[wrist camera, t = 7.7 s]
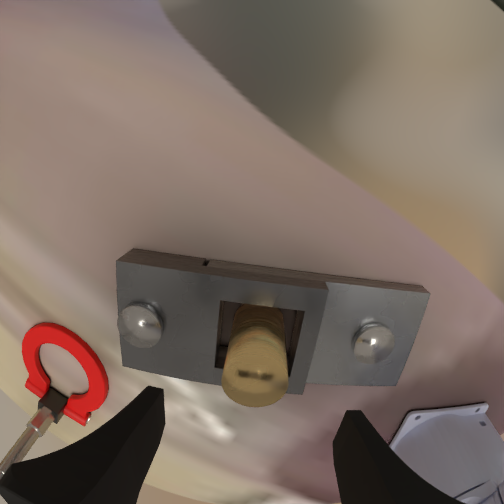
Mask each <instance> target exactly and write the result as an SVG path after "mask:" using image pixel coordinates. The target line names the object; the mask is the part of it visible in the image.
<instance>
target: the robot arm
mask: <svg viewBox="0 0 504 504" xmlns="http://www.w3.org/2000/svg"><path fill="white" fill-rule="evenodd" d="M488 407H489V405H488V404H487V403H482V404H475V405H468V406H460V407H452V408H443V409H433V410H420V411H411V412H410V413H408V414H407V416H406V418H405V419H404V421H403V423H402V425H401V427H400V428H399V430H398V432H397V434H396V435H395V437H394V439H393V440H392V442H391V444H390V445H388V444H387V443H386V442H385V441H384V439H383V438H382V437H381V436H380V435H379V433H378V432H377V431H376V429H375V428H374V427H373V426H372V424H371V423H370V422H369V420H368V419H367V418H366V416H365V415H364V414H363V413H362V411H361V410H347V411H346V413H345V415H344V418H343V420H342V422H341V425H340V427H339V429H338V432H337V434H336V436H335V438H334V440H333V458H334V467H335V472H336V477H337V482H338V487H339V493H340V498H341V503H342V504H504V441H503V440H502V438H501V437H500V435H499V433H498V432H497V430H496V429H495V427H494V426H493V424H492V423H491V421H490V420H489V418H488V417H487V415H486V414H485V412H486V411H487V409H488ZM164 426H165V409H164V390H163V389H161V388H157V387H152V386H148V387H146V388H145V389H144V390H143V391H142V392H141V393H140V394H139V395H138V396H137V397H136V398H135V399H134V400H133V401H131V402H130V403H129V404H128V405H127V406H126V407H125V408H124V409H122V410H121V411H120V412H119V413H118V414H117V415H115V416H114V417H113V418H112V419H110V420H109V421H108V422H106V423H105V424H104V425H102V426H101V427H100V428H98V429H97V430H95V431H94V432H92V433H91V434H89V435H87V436H86V437H84V438H82V439H81V440H79V441H77V442H75V443H73V444H71V445H69V446H67V447H65V448H63V449H60V450H58V451H55V452H52V453H50V454H47V455H44V456H41V457H38V458H35V459H31V460H26V461H22V462H17V463H12V464H11V465H10V467H9V468H8V469H7V470H6V472H5V473H4V475H3V476H2V478H1V479H0V495H1V496H2V497H3V498H4V499H5V501H6V502H7V503H8V504H136V502H137V498H138V495H139V492H140V489H141V487H142V484H143V482H144V479H145V477H146V475H147V472H148V470H149V468H150V465H151V463H152V461H153V458H154V456H155V454H156V451H157V449H158V447H159V444H160V441H161V437H162V434H163V430H164Z"/></svg>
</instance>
